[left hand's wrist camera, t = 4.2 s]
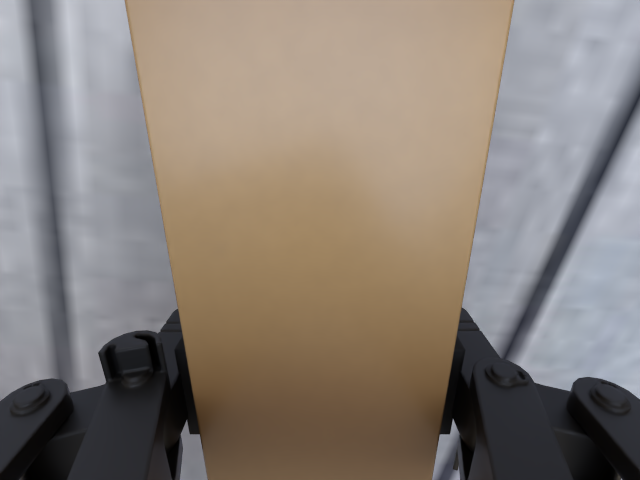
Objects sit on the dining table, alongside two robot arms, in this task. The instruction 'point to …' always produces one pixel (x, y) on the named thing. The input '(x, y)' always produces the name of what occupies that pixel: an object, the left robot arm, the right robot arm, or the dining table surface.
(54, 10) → the dining table surface
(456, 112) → the bar
